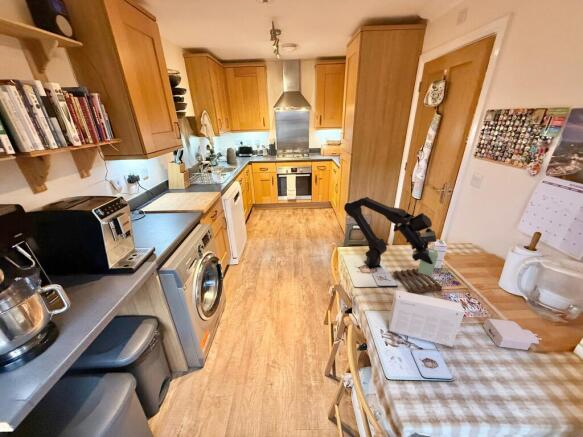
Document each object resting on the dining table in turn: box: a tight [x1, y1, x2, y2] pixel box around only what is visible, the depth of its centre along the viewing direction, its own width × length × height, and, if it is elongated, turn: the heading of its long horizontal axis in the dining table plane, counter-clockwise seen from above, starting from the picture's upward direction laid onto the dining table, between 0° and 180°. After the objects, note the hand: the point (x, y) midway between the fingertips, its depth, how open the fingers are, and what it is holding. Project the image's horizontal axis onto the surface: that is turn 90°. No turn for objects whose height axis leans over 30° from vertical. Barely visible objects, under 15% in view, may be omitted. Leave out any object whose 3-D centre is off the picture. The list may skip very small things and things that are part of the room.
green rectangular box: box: [417, 247, 438, 277], centre depth 107 cm, size 6×6×12 cm
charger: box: [483, 318, 543, 351], centre depth 83 cm, size 5×9×15 cm
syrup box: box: [429, 238, 448, 269], centre depth 122 cm, size 6×6×14 cm
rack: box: [392, 268, 443, 295], centre depth 111 cm, size 16×14×3 cm
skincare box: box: [388, 289, 466, 348], centre depth 83 cm, size 21×5×16 cm, turn 71°
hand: (431, 260), depth 106 cm, fingers closed on green rectangular box, 5 cm apart
